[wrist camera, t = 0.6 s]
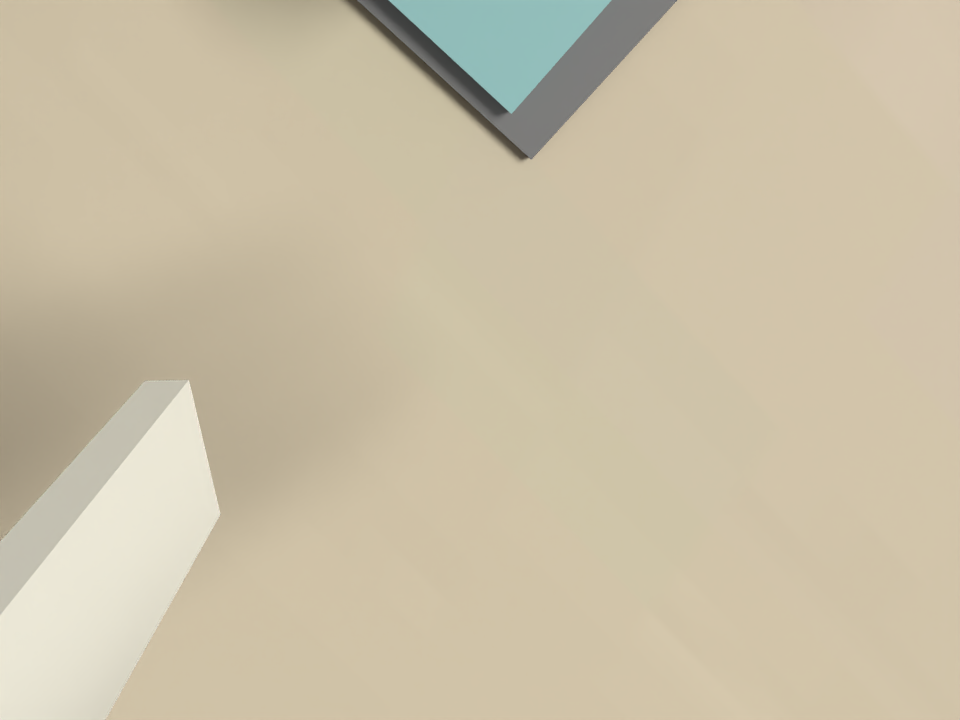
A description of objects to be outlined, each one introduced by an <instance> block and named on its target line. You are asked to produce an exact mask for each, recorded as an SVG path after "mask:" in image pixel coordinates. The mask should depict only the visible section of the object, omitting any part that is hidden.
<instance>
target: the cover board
mask: <svg viewBox="0 0 960 720" xmlns="http://www.w3.org/2000/svg"><path fill="white" fill-rule="evenodd" d="M389 1H390V2H391V3H392V4H393V5H394V6H395V7H396V8H397V9H399V10H400V11H401V12H402V13H403V14H404V15H405V16H406V17H407V18H408V19H409V20H410V21H412V22H413V23H414V24H415V25H416V26H417V27H418V28H419V29H420V30H421V31H422V32H423V33H424V34H426V35H427V36H428V37H429V38H430V39H431V40H432V41H433V42H434V43H435V44H436V45H437V46H439V47H440V48H441V49H442V50H443V51H444V52H445V53H446V54H447V55H448V56H449V57H450V58H451V59H453V60H454V61H455V62H456V63H457V64H458V65H459V66H460V67H461V68H462V69H463V70H464V71H466V72H467V73H468V74H469V75H470V76H471V77H472V78H473V79H474V80H475V81H476V82H477V83H478V84H480V85H481V86H482V87H483V88H484V89H485V90H486V91H487V92H488V93H489V94H490V95H491V96H492V97H494V98H495V99H496V100H497V101H498V102H499V103H500V104H501V105H502V106H503V107H504V108H505V109H507V110H508V111H509V112H510V113H511V114H512V113H513V112H514V111H515V109H516V108H517V107H518V106H519V105H520V104H521V103H522V101H523V100H524V99H525V98H526V97H527V96H528V95H529V94H530V92H531V91H532V90H533V89H534V88H535V87H536V86H537V84H538V83H539V82H540V81H541V80H542V79H543V78H544V76H545V75H546V74H547V73H548V72H549V71H550V70H551V69H552V67H553V66H554V65H555V64H556V63H557V62H558V61H559V59H560V58H561V57H562V56H563V55H564V54H565V53H566V51H567V50H568V49H569V48H570V47H571V46H572V45H573V44H574V42H575V41H576V40H577V39H578V38H579V37H580V36H581V34H582V33H583V32H584V31H585V30H586V29H587V28H588V27H589V25H590V24H591V23H592V22H593V21H594V20H595V19H596V17H597V16H598V15H599V14H600V13H601V12H602V11H603V9H604V8H605V7H606V6H607V5H608V4H609V3H610V2H611V0H389Z"/></svg>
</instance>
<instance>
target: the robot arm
mask: <svg viewBox="0 0 960 720" xmlns="http://www.w3.org/2000/svg"><path fill="white" fill-rule="evenodd" d="M219 516H220V510H219V506H218V502H217V497H216V493H215V489H214V485H213V480H212V476H211V472H210V468H209V463H208V459H207V455H206V451H205V446H204V442H203V438H202V433H201V429H200V425H199V421H198V416H197V412H196V408H195V404H194V399H193V395H192V391H191V387H190V382H189V380H158V381H144V382H143V383H142V384H141V386H140V387H139V388H138V389H137V390H136V391H135V392H134V393H133V394H132V396H131V397H130V398H129V399H128V400H127V401H126V402H125V403H124V404H123V406H122V407H121V408H120V409H119V410H118V411H117V412H116V413H115V414H114V416H113V417H112V418H111V419H110V420H109V421H108V422H107V423H106V424H105V426H104V427H103V428H102V429H101V430H100V431H99V432H98V433H97V434H96V436H95V437H94V438H93V439H92V440H91V441H90V442H89V443H88V444H87V446H86V447H85V448H84V449H83V450H82V451H81V452H80V453H79V454H78V456H77V457H76V458H75V459H74V460H73V461H72V462H71V463H70V464H69V466H68V467H67V468H66V469H65V470H64V471H63V472H62V473H61V474H60V476H59V477H58V478H57V479H56V480H55V481H54V482H53V483H52V484H51V486H50V487H49V488H48V489H47V490H46V491H45V492H44V493H43V494H42V496H41V497H40V498H39V499H38V500H37V501H36V502H35V503H34V504H33V506H32V507H31V508H30V509H29V510H28V511H27V512H26V513H25V514H24V516H23V517H22V518H21V519H20V520H19V521H18V522H17V523H16V524H15V526H14V527H13V528H12V529H11V530H10V531H9V532H8V533H7V534H6V536H5V537H4V538H3V539H2V540H1V541H0V720H106V718H107V716H108V715H109V713H110V711H111V709H112V707H113V706H114V704H115V702H116V700H117V698H118V697H119V695H120V693H121V691H122V689H123V688H124V686H125V684H126V682H127V681H128V679H129V677H130V675H131V673H132V672H133V670H134V668H135V666H136V664H137V663H138V661H139V659H140V657H141V656H142V654H143V652H144V650H145V648H146V647H147V645H148V643H149V641H150V639H151V638H152V636H153V634H154V632H155V630H156V629H157V627H158V625H159V623H160V622H161V620H162V618H163V616H164V614H165V613H166V611H167V609H168V607H169V605H170V604H171V602H172V600H173V598H174V597H175V595H176V593H177V591H178V589H179V588H180V586H181V584H182V582H183V580H184V579H185V577H186V575H187V573H188V571H189V570H190V568H191V566H192V564H193V563H194V561H195V559H196V557H197V555H198V554H199V552H200V550H201V548H202V546H203V545H204V543H205V541H206V539H207V537H208V536H209V534H210V532H211V530H212V529H213V527H214V525H215V523H216V521H217V520H218V518H219Z"/></svg>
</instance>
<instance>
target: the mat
mask: <svg viewBox="0 0 960 720" xmlns="http://www.w3.org/2000/svg"><path fill="white" fill-rule="evenodd" d="M357 1H359V2H360V3H361V4H362V5H363V6H364V7H365V8H366V9H367V10H368V11H369V12H371V13H372V14H373V15H374V16H375V17H376V18H377V19H378V20H379V21H380V22H382V23H383V24H384V25H385V26H386V27H387V28H388V29H389V30H390V31H391V32H392V33H394V34H395V35H396V36H397V37H398V38H399V39H400V40H401V41H402V42H403V43H404V44H406V45H407V46H408V47H409V48H410V49H411V50H412V51H413V52H414V53H415V54H416V55H418V56H419V57H420V58H421V59H422V60H423V61H424V62H425V63H426V64H427V65H428V66H430V67H431V68H432V69H433V70H434V71H435V72H436V73H437V74H438V75H439V76H440V77H442V78H443V79H444V80H445V81H446V82H447V83H448V84H449V85H450V86H451V87H452V88H454V89H455V90H456V91H457V92H458V93H459V94H460V95H461V96H462V97H463V98H464V99H466V100H467V101H468V102H469V103H470V104H471V105H472V106H473V107H474V108H475V109H476V110H478V111H479V112H480V113H481V114H482V115H483V116H484V117H485V118H486V119H487V120H489V121H490V122H491V123H492V124H493V125H494V126H495V127H496V128H497V129H498V130H499V131H501V132H502V133H503V134H504V135H505V136H506V137H507V138H508V139H509V140H510V141H511V142H513V143H514V144H515V145H516V146H517V147H518V148H519V149H520V150H521V151H522V152H523V153H525V154H526V155H527V156H528V157H529V158H530V159H532V158H533V157H534V156H535V155H536V154H537V153H538V152H539V151H540V150H541V148H542V147H543V146H544V145H545V144H546V143H547V142H548V141H549V140H550V139H551V138H552V136H553V135H554V134H555V133H556V132H557V131H558V130H559V129H560V128H561V127H562V126H563V124H564V123H565V122H566V121H567V120H568V119H569V118H570V117H571V116H572V115H573V114H574V112H575V111H576V110H577V109H578V108H579V107H580V106H581V105H582V104H583V103H584V102H585V100H586V99H587V98H588V97H589V96H590V95H591V94H592V93H593V92H594V91H595V90H596V88H597V87H598V86H599V85H600V84H601V83H602V82H603V81H604V80H605V79H606V77H607V76H608V75H609V74H610V73H611V72H612V71H613V70H614V69H615V68H616V67H617V65H618V64H619V63H620V62H621V61H622V60H623V59H624V58H625V57H626V56H627V55H628V53H629V52H630V51H631V50H632V49H633V48H634V47H635V46H636V45H637V44H638V43H639V41H640V40H641V39H642V38H643V37H644V36H645V35H646V34H647V33H648V32H649V31H650V29H651V28H652V27H653V26H654V25H655V24H656V23H657V22H658V21H659V20H660V19H661V17H662V16H663V15H664V14H665V13H666V12H667V11H668V10H669V9H670V8H671V7H672V5H673V4H674V3H675V2H676V1H677V0H611V2H610V3H609V4H608V5H607V6H606V7H605V8H604V9H603V11H602V12H601V13H600V14H599V15H598V16H597V17H596V19H595V20H594V21H593V22H592V23H591V24H590V25H589V27H588V28H587V29H586V30H585V31H584V32H583V33H582V34H581V36H580V37H579V38H578V39H577V40H576V41H575V42H574V44H573V45H572V46H571V47H570V48H569V49H568V50H567V51H566V53H565V54H564V55H563V56H562V57H561V58H560V59H559V61H558V62H557V63H556V64H555V65H554V66H553V67H552V69H551V70H550V71H549V72H548V73H547V74H546V75H545V76H544V78H543V79H542V80H541V81H540V82H539V83H538V84H537V86H536V87H535V88H534V89H533V90H532V91H531V92H530V94H529V95H528V96H527V97H526V98H525V99H524V100H523V101H522V103H521V104H520V105H519V106H518V107H517V108H516V109H515V111H514V112H513V113H512V114H511V113H510V112H509V111H508V110H507V109H505V108H504V107H503V106H502V105H501V104H500V103H499V102H498V101H497V100H496V99H495V98H494V97H492V96H491V95H490V94H489V93H488V92H487V91H486V90H485V89H484V88H483V87H482V86H481V85H480V84H478V83H477V82H476V81H475V80H474V79H473V78H472V77H471V76H470V75H469V74H468V73H467V72H466V71H464V70H463V69H462V68H461V67H460V66H459V65H458V64H457V63H456V62H455V61H454V60H453V59H451V58H450V57H449V56H448V55H447V54H446V53H445V52H444V51H443V50H442V49H441V48H440V47H439V46H437V45H436V44H435V43H434V42H433V41H432V40H431V39H430V38H429V37H428V36H427V35H426V34H424V33H423V32H422V31H421V30H420V29H419V28H418V27H417V26H416V25H415V24H414V23H413V22H412V21H410V20H409V19H408V18H407V17H406V16H405V15H404V14H403V13H402V12H401V11H400V10H399V9H397V8H396V7H395V6H394V5H393V4H392V3H391V2H390V1H389V0H357Z"/></svg>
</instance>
